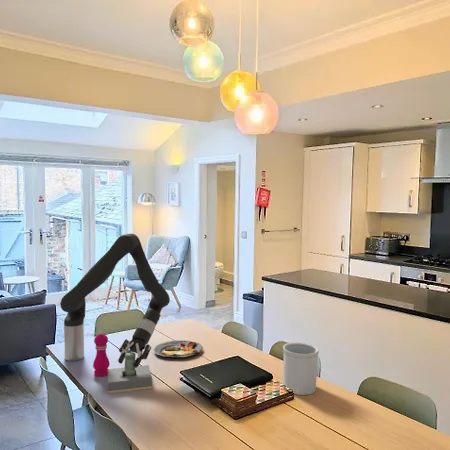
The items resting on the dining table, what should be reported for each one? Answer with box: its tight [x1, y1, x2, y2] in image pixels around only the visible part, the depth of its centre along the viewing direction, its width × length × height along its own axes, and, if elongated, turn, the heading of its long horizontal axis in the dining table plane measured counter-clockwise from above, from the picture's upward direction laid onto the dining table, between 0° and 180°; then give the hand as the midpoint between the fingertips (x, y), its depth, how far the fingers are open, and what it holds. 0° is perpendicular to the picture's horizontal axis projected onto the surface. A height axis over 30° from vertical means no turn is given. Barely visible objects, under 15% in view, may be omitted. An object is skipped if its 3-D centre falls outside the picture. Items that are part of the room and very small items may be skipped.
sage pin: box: [124, 352, 137, 377], centre depth 182 cm, size 4×4×12 cm
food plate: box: [153, 340, 203, 358], centre depth 220 cm, size 25×23×4 cm
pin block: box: [107, 364, 153, 394], centre depth 182 cm, size 14×18×4 cm
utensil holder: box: [282, 341, 320, 396], centre depth 179 cm, size 15×15×18 cm
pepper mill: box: [92, 330, 111, 378], centre depth 191 cm, size 7×7×20 cm
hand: (127, 364), depth 180 cm, fingers open, 8 cm apart
